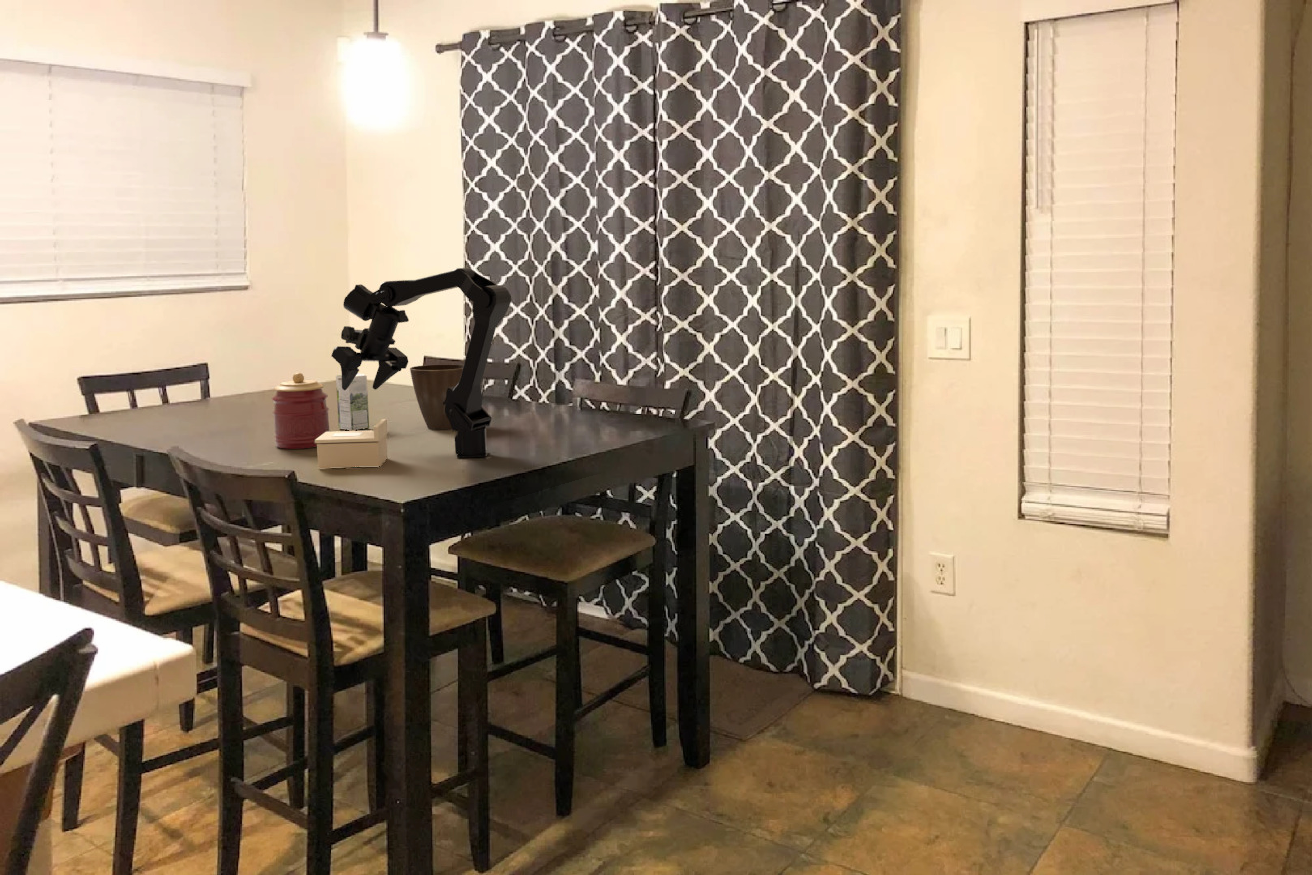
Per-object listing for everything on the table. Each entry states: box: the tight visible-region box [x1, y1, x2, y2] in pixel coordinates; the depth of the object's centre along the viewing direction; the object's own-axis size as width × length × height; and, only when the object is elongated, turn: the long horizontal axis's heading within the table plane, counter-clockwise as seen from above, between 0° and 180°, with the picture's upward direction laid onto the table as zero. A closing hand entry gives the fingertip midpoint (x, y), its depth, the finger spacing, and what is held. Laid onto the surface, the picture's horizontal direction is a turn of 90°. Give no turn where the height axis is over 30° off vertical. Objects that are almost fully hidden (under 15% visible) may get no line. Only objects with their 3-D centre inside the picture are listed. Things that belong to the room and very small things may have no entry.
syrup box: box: [335, 372, 370, 431], centre depth 287 cm, size 6×6×14 cm
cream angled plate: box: [315, 418, 389, 443], centre depth 241 cm, size 14×11×3 cm
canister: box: [271, 372, 331, 450], centre depth 266 cm, size 13×13×18 cm
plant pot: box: [409, 363, 464, 430], centre depth 288 cm, size 15×15×16 cm
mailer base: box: [316, 434, 388, 469], centre depth 242 cm, size 13×10×6 cm
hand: (359, 389), depth 258 cm, fingers open, 9 cm apart
